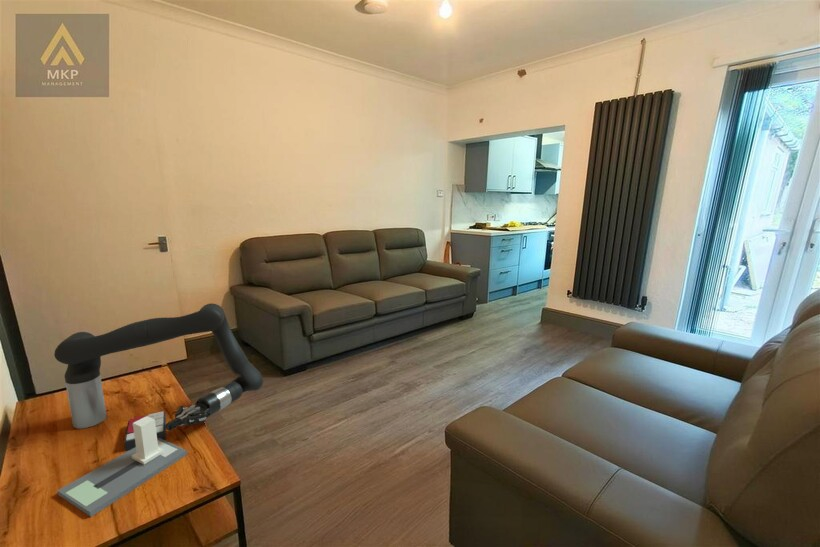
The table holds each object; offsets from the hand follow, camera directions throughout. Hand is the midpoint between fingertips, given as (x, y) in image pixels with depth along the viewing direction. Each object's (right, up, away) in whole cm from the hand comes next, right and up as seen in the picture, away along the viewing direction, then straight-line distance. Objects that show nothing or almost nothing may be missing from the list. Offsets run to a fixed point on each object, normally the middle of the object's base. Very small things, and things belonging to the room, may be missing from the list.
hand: (167, 427), depth 118 cm
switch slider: (-3, -7, -5) cm, 9 cm away
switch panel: (-5, -9, -10) cm, 15 cm away
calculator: (-13, -6, +8) cm, 16 cm away
